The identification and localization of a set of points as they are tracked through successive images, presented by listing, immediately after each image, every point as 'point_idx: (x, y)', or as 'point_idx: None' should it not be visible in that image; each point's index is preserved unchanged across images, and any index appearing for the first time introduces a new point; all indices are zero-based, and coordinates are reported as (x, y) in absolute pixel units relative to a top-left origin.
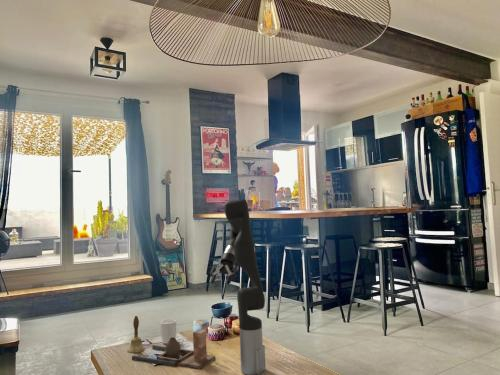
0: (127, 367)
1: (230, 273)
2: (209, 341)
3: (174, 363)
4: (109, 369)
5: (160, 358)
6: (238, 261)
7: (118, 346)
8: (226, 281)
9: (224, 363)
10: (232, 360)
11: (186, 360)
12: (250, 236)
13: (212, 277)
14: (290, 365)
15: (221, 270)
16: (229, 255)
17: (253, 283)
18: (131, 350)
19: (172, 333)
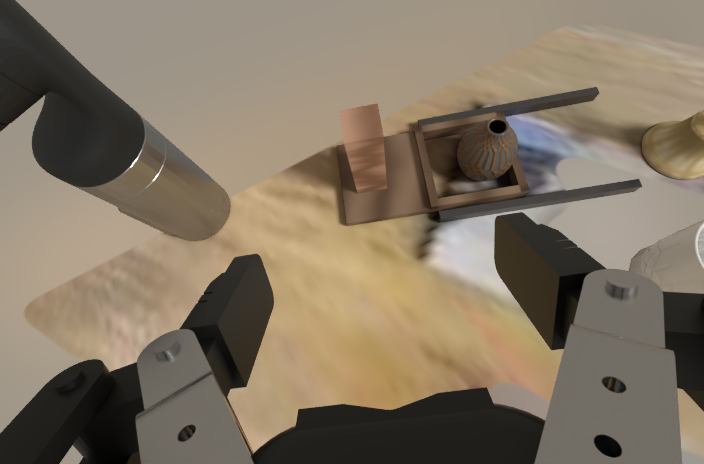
0: (538, 59)
1: (154, 368)
2: (497, 362)
3: (420, 121)
4: (570, 29)
5: (486, 116)
6: None
7: None
8: (248, 255)
9: (299, 211)
10: (289, 241)
11: (405, 153)
12: None
13: (552, 242)
14: (112, 292)
15: (465, 420)
16: None
17: None
18: (668, 123)
19: (655, 259)
